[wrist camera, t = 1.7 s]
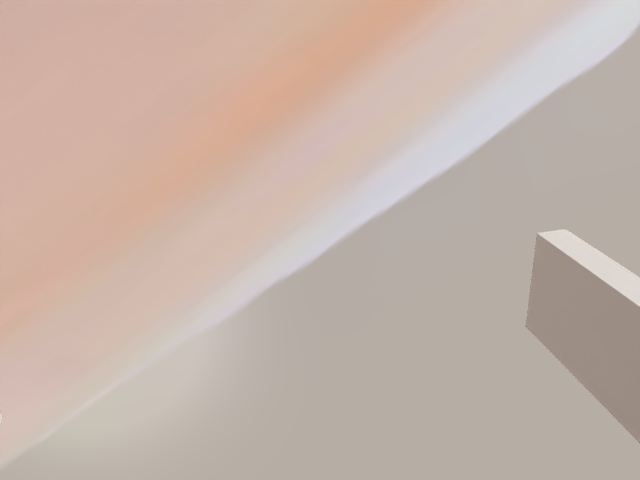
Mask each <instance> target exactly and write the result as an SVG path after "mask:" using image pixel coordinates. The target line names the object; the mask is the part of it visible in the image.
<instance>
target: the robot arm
mask: <svg viewBox="0 0 640 480" xmlns="http://www.w3.org/2000/svg"><path fill="white" fill-rule="evenodd" d="M526 327H527V328H528V329H529V330H530V331H531V332H532V334H533V335H534V336H536V337H537V339H538V340H539V341H540V342H541V343H542V344H543V345H544V346H545V347H546V348H547V349H548V350H549V351H550V352H551V353H552V354H553V355H554V356H555V357H556V358H557V359H558V360H559V361H560V362H561V363H562V364H563V365H564V366H565V367H566V368H567V369H568V370H569V371H570V372H571V373H572V374H573V375H574V376H575V377H576V378H577V379H578V380H579V382H580V383H581V384H583V386H584V387H585V388H586V389H587V390H588V391H589V392H590V393H591V394H592V395H593V396H594V397H595V398H596V399H597V400H598V401H599V402H600V403H601V404H602V405H603V406H604V407H605V408H606V409H607V410H608V411H609V412H610V413H611V414H612V415H613V416H614V417H615V418H616V419H617V420H618V421H619V422H620V423H621V424H622V425H623V427H625V429H626V430H627V431H629V433H630V434H631V435H632V436H633V437H634V438H635V439H636V440H637V441H638V442H639V443H640V277H638V276H636V275H635V274H633V273H632V272H630V271H629V270H627V269H626V268H624V267H623V266H621V265H620V264H618V263H617V262H615V261H613V260H612V259H610V258H609V257H607V256H606V255H604V254H603V253H601V252H600V251H598V250H596V249H595V248H593V247H592V246H590V245H589V244H587V243H586V242H584V241H583V240H581V239H580V238H578V237H576V236H575V235H574V234H572V233H570V232H569V231H567V230H566V229H563V230H555V231H549V232H542V233H537V238H536V246H535V255H534V263H533V271H532V279H531V287H530V295H529V304H528V311H527V321H526ZM1 420H2V416H1V413H0V422H1Z"/></svg>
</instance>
